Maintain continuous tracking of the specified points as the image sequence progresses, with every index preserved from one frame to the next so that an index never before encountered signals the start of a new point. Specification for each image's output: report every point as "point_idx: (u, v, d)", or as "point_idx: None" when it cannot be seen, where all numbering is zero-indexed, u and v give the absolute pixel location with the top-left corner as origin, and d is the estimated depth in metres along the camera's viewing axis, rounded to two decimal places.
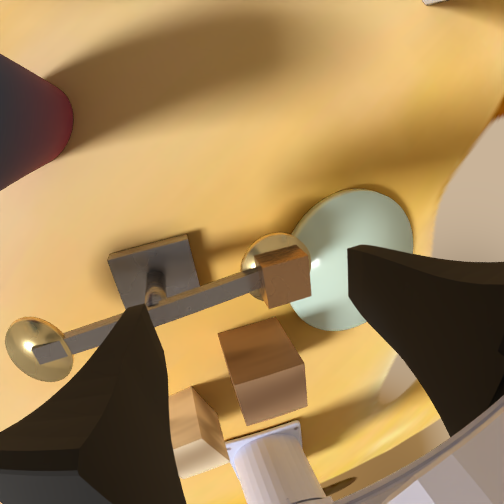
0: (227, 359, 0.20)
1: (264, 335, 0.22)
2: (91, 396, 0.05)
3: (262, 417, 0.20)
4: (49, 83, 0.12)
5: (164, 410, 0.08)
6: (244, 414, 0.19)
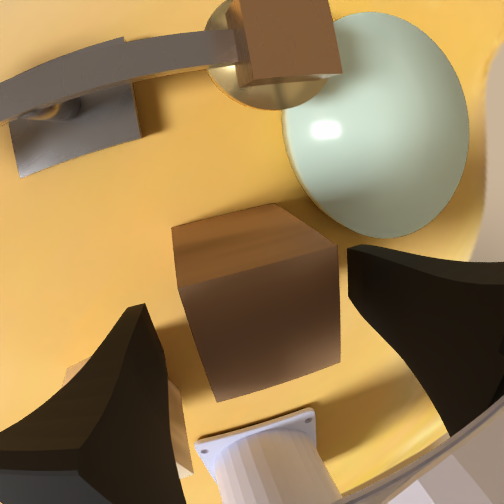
0: (177, 253, 0.10)
1: (253, 220, 0.12)
2: (91, 396, 0.05)
3: (249, 384, 0.10)
4: None
5: (164, 410, 0.08)
6: (208, 373, 0.09)
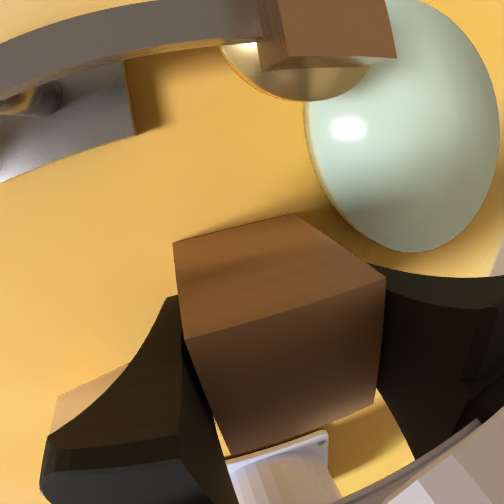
0: (180, 282, 0.08)
1: (273, 237, 0.10)
2: (158, 383, 0.05)
3: (269, 435, 0.08)
4: None
5: None
6: (223, 429, 0.07)
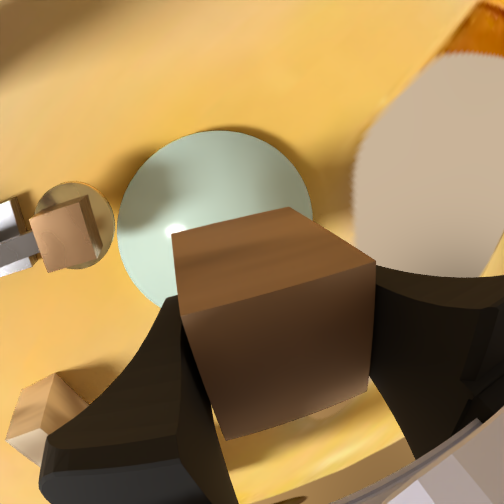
0: (178, 267, 0.08)
1: (268, 228, 0.10)
2: (157, 383, 0.05)
3: (263, 420, 0.08)
4: None
5: (208, 401, 0.08)
6: (217, 411, 0.07)
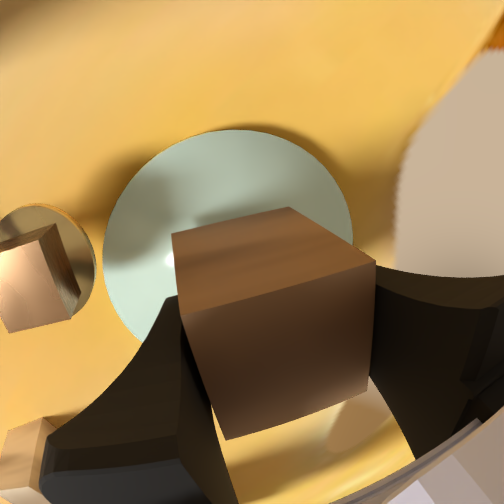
0: (178, 266, 0.08)
1: (268, 227, 0.10)
2: (157, 383, 0.05)
3: (263, 420, 0.08)
4: None
5: (208, 400, 0.08)
6: (217, 411, 0.07)
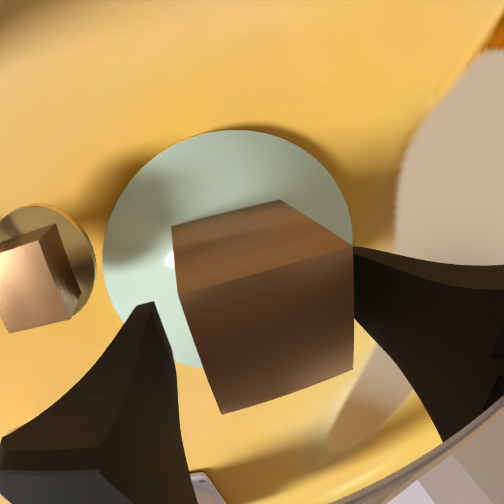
0: (177, 254, 0.09)
1: (259, 218, 0.11)
2: (106, 393, 0.05)
3: (256, 394, 0.09)
4: None
5: (175, 408, 0.08)
6: (212, 385, 0.08)
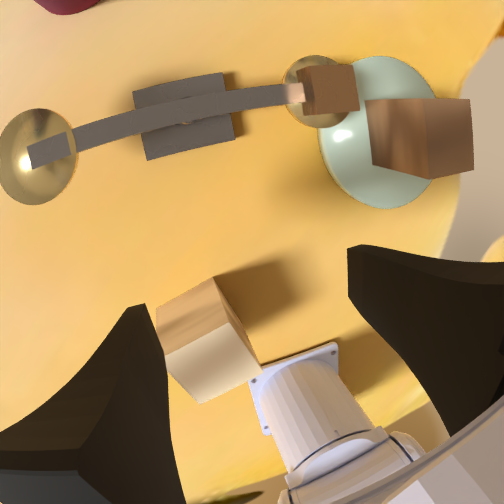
0: (394, 99, 0.16)
1: None
2: (91, 396, 0.05)
3: (442, 168, 0.15)
4: None
5: (164, 410, 0.08)
6: (428, 154, 0.15)
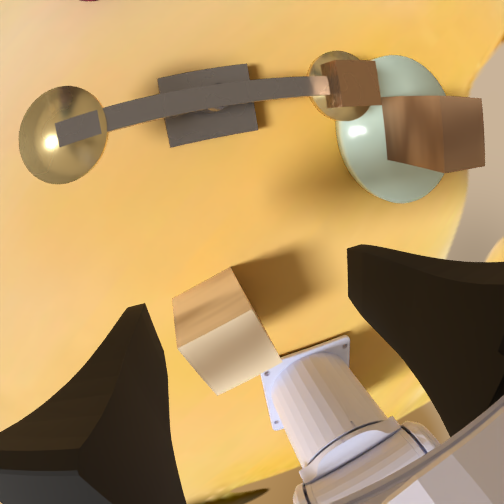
0: (411, 96, 0.16)
1: None
2: (91, 396, 0.05)
3: (456, 163, 0.15)
4: None
5: (165, 411, 0.08)
6: (444, 149, 0.15)
